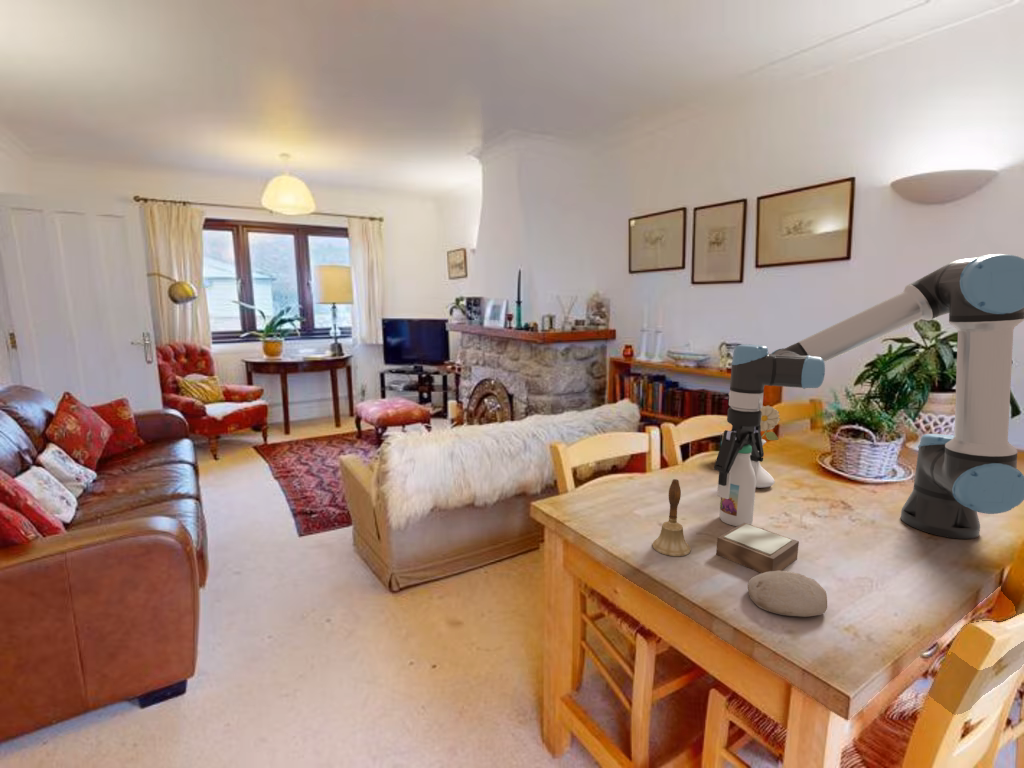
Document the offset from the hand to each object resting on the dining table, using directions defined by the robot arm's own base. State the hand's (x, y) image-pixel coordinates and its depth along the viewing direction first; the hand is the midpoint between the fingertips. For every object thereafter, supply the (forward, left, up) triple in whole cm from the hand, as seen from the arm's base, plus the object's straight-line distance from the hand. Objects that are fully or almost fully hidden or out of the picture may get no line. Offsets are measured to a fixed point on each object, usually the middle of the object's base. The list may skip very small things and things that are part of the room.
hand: (737, 491), depth 128 cm
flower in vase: (+9, -29, -8) cm, 32 cm away
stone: (-24, +27, -8) cm, 37 cm away
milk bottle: (0, 0, -8) cm, 8 cm away
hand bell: (+2, +25, -8) cm, 26 cm away
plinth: (-12, +14, -8) cm, 20 cm away
